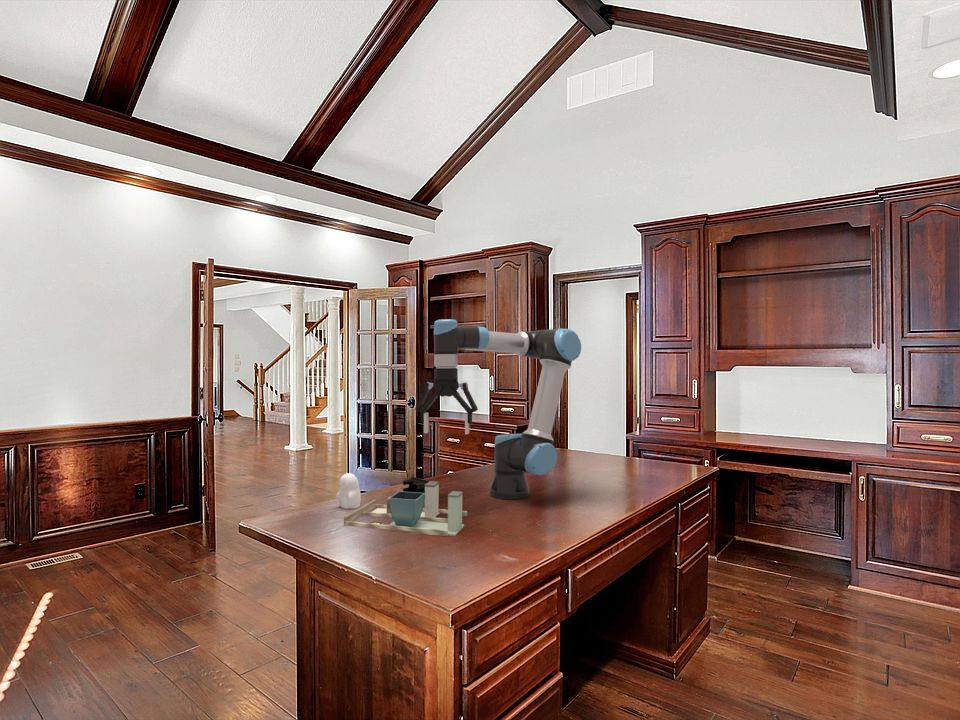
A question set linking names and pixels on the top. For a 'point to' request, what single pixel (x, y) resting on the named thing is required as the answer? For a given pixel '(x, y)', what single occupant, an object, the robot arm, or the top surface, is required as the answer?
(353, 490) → the figurine
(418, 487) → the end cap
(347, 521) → the lane frame
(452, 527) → the sage strip
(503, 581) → the top surface
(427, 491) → the cream strip
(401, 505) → the flower pot
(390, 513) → the walnut block
